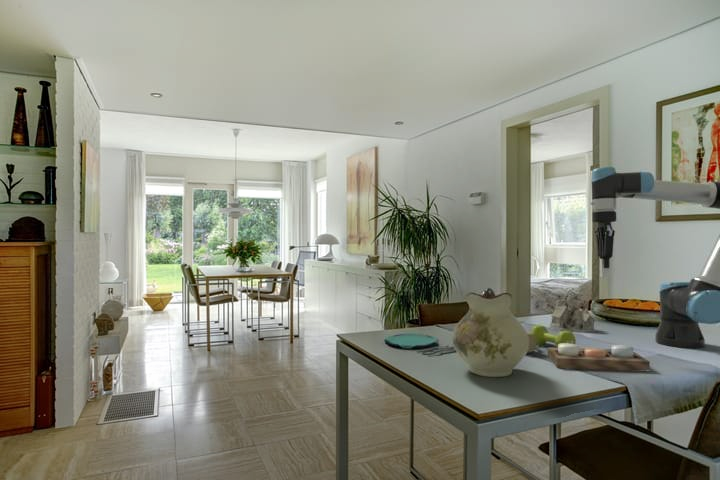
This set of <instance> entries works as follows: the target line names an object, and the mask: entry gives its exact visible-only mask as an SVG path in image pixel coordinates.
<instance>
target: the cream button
mask: <svg viewBox="0 0 720 480" xmlns="http://www.w3.org/2000/svg"><path fill="white" fill-rule="evenodd" d="M558 354H559V355H560V356H579V345H577V344H576V343H575V344H569V343H561V344H558Z"/></svg>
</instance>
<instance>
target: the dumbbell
mask: <svg viewBox="0 0 720 480" xmlns="http://www.w3.org/2000/svg"><path fill="white" fill-rule="evenodd" d="M529 333H531V334H533V335H534V336H535V337H536V340H537V345H538V346H540V345H546V343H547V342H549V343H553V344H555V346H556V348H558V344H561V343H569V344H575V345H576V343H577V340H576V338H575V335H574V332H573V331H559V332H558V333H557V334H553V333H549V332H548V329H547V328H546V326H544V325H540V324H538V325H533V326H532V327H531V329H530V331H529Z"/></svg>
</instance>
